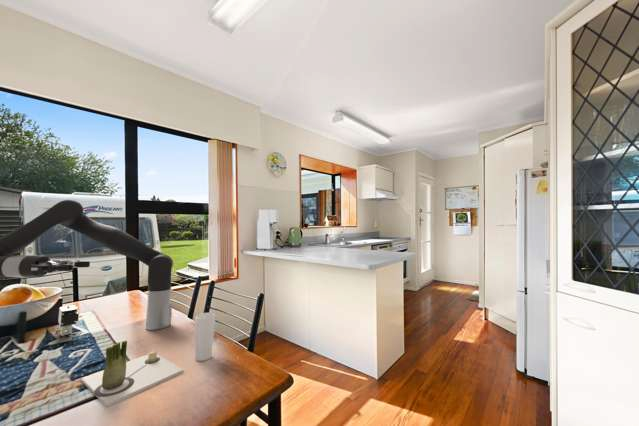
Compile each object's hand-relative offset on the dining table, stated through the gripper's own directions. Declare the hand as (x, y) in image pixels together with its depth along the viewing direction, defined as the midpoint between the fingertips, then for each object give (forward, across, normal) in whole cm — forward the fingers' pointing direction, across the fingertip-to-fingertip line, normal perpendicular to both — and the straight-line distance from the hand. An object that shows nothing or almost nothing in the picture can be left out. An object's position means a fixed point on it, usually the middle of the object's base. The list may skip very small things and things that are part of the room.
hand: (81, 265), depth 93 cm
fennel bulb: (+24, -24, +31) cm, 46 cm away
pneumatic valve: (-17, +23, +32) cm, 43 cm away
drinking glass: (+45, -8, +32) cm, 56 cm away
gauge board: (+26, -17, +32) cm, 45 cm away
